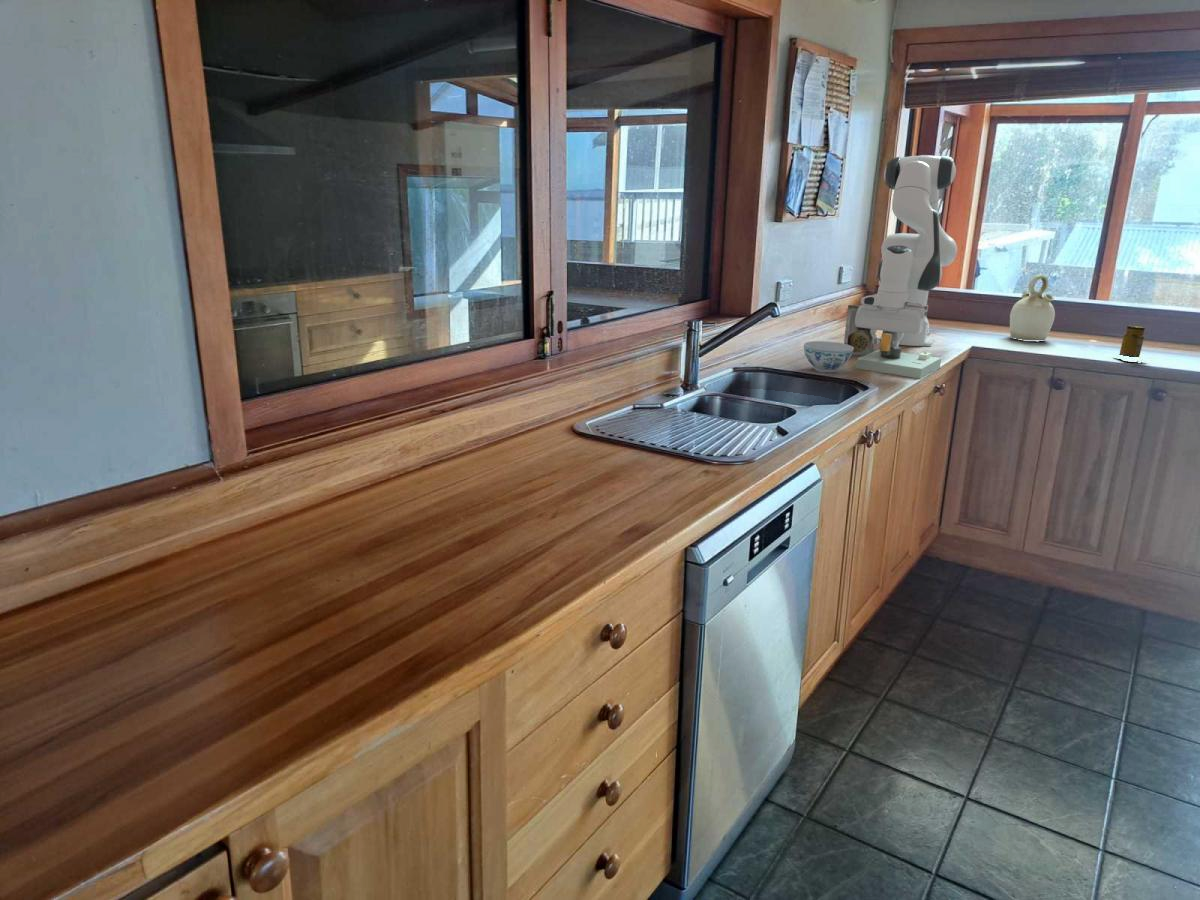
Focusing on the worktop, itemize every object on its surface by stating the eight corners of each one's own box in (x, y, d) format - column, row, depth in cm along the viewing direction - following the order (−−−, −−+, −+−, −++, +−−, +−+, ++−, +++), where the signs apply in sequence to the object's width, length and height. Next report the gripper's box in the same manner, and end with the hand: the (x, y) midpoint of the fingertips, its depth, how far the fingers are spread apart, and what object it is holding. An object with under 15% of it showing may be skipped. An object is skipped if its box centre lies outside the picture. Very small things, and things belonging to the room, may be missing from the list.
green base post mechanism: (878, 357, 286) (885, 307, 280) (939, 367, 275) (948, 314, 270) (855, 368, 268) (862, 314, 263) (920, 378, 258) (929, 322, 252)
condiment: (1131, 358, 301) (1139, 325, 298) (1147, 363, 293) (1155, 329, 290) (1111, 358, 301) (1119, 324, 297) (1126, 363, 293) (1134, 328, 289)
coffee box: (868, 352, 294) (875, 305, 289) (872, 356, 288) (879, 308, 283) (842, 351, 295) (847, 304, 290) (845, 354, 289) (851, 307, 284)
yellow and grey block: (883, 353, 276) (887, 329, 274) (902, 356, 273) (906, 331, 270) (872, 358, 267) (875, 333, 265) (891, 361, 264) (895, 336, 262)
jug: (1057, 344, 324) (1070, 277, 316) (1016, 342, 324) (1029, 276, 316) (1038, 336, 339) (1050, 273, 331) (999, 335, 339) (1010, 271, 331)
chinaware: (848, 378, 255) (851, 352, 252) (797, 372, 260) (800, 347, 257) (852, 368, 268) (855, 344, 266) (804, 363, 273) (807, 339, 271)
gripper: (929, 303, 258) (922, 348, 262) (862, 296, 269) (857, 339, 273) (923, 305, 253) (916, 351, 257) (856, 297, 264) (850, 342, 268)
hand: (885, 345), depth 265 cm, fingers open, 5 cm apart
